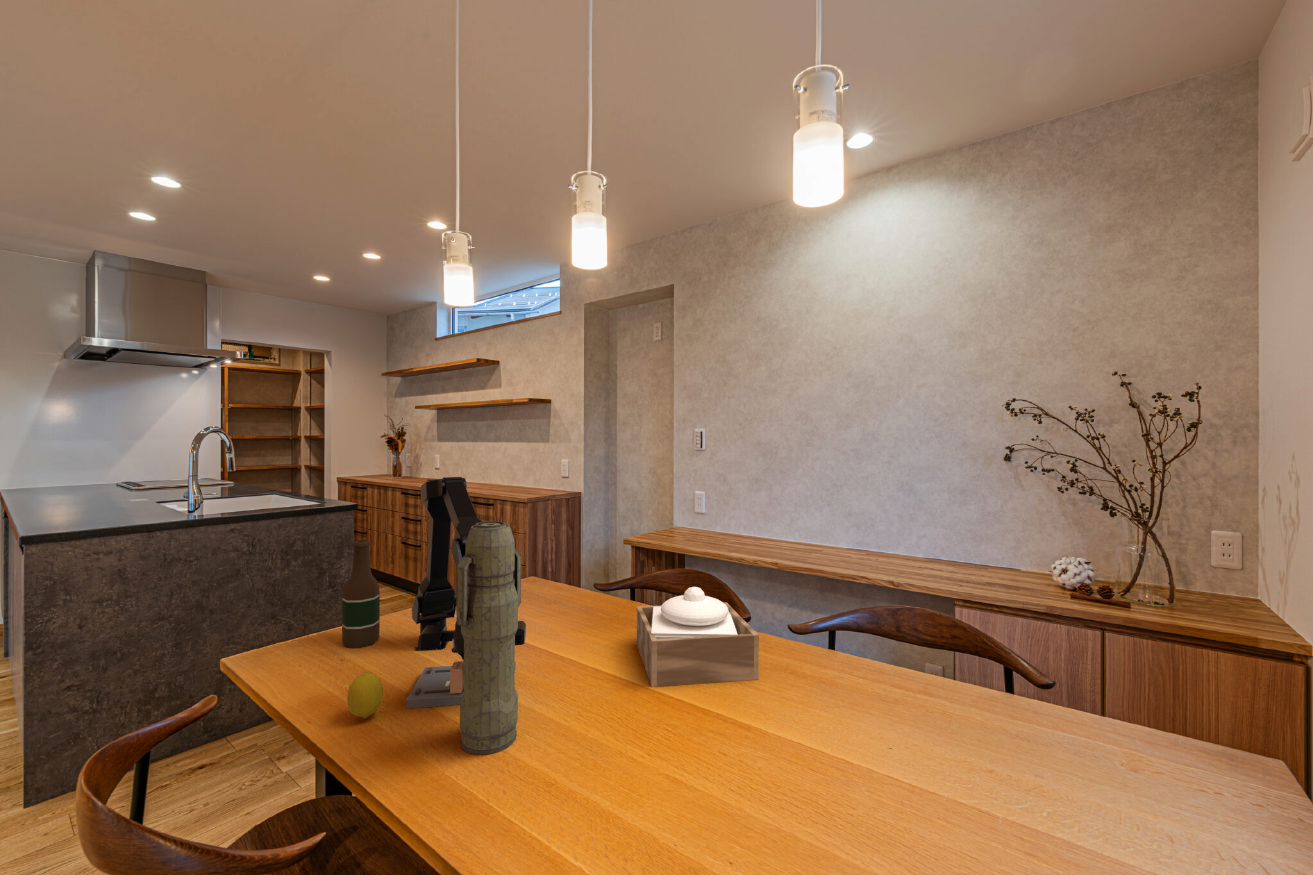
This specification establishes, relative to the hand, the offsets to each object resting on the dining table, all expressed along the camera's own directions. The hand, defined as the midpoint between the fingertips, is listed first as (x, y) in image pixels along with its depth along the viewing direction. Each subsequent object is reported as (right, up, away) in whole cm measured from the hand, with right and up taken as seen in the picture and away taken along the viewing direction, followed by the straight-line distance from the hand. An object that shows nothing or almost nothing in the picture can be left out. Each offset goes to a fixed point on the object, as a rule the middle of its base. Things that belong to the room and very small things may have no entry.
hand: (473, 680), depth 103 cm
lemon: (-16, -3, -8) cm, 18 cm away
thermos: (+7, -4, -14) cm, 16 cm away
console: (-3, -3, +4) cm, 6 cm away
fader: (-3, -1, -1) cm, 3 cm away
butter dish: (+42, -3, +17) cm, 46 cm away
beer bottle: (-35, -3, +26) cm, 44 cm away
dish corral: (+42, -3, +17) cm, 46 cm away
